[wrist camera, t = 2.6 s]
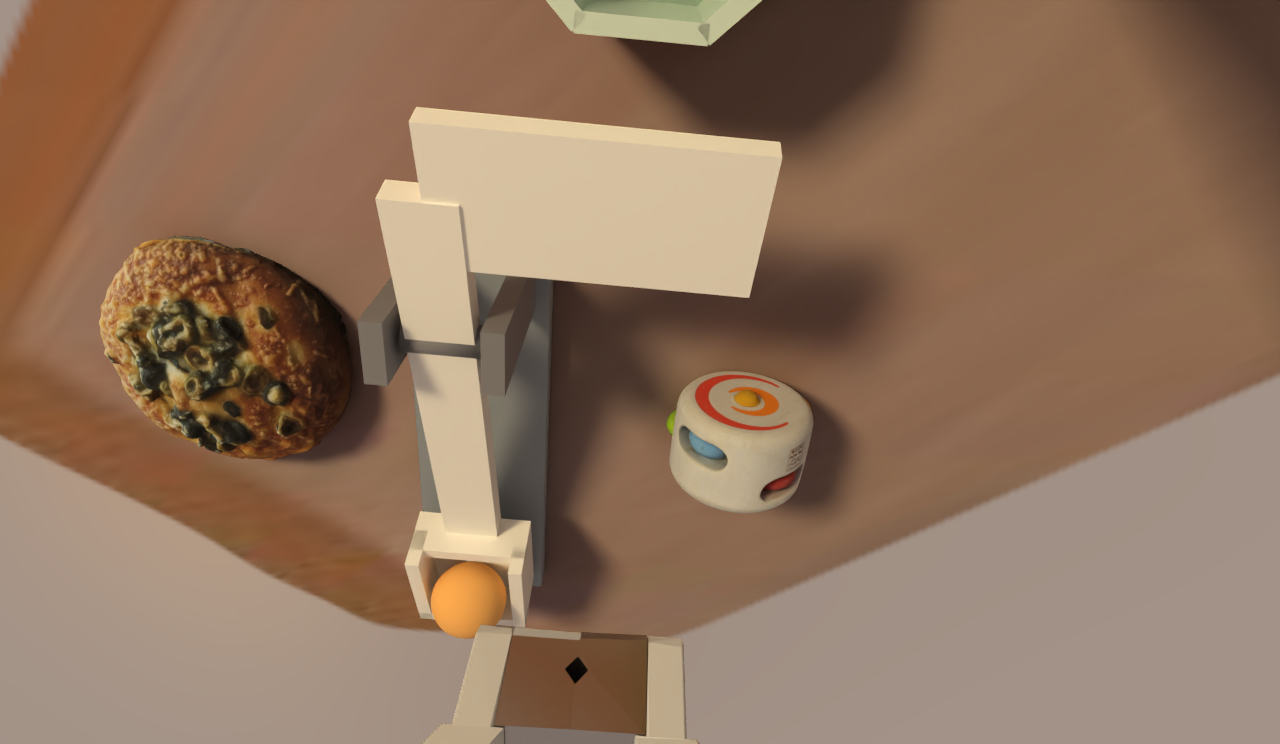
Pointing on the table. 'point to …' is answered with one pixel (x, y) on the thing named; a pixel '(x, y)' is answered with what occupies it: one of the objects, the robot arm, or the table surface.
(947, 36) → the table surface
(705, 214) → the lever
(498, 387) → the catapult base
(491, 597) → the ball
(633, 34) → the cup
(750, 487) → the roller toy
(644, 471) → the table surface
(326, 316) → the bread roll
